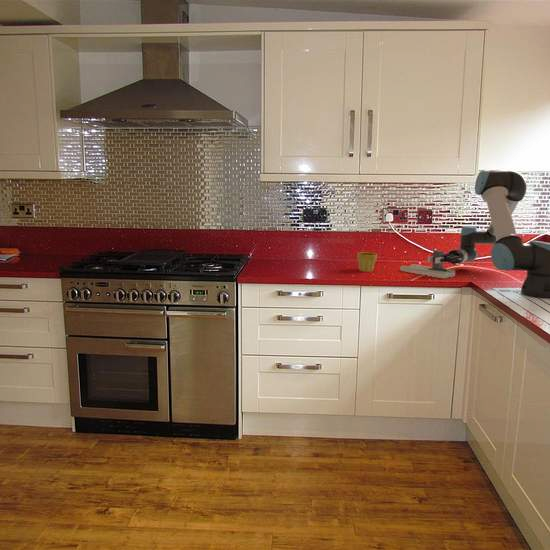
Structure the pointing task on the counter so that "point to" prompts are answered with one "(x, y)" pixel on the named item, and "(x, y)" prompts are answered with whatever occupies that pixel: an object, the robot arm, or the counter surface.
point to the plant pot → (366, 261)
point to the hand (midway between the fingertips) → (432, 260)
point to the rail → (428, 271)
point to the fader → (437, 265)
